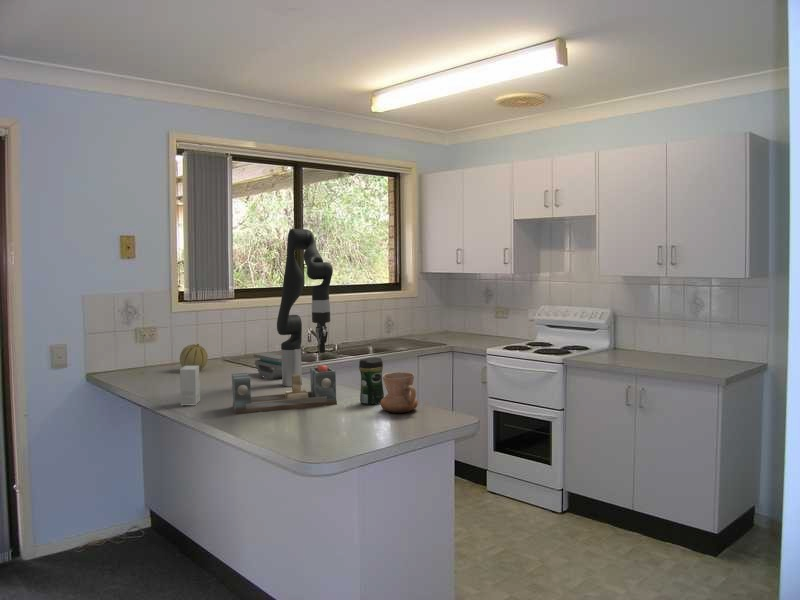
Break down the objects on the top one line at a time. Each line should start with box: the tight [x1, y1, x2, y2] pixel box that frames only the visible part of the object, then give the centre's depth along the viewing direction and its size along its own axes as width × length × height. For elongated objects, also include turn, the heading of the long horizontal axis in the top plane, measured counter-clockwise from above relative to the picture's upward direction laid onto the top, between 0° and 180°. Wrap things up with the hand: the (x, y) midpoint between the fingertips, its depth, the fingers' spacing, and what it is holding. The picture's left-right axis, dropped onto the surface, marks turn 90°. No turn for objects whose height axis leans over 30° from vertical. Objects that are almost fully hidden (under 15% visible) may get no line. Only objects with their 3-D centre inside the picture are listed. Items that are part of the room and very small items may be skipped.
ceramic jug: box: [379, 371, 419, 414], centre depth 245 cm, size 18×14×14 cm
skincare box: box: [179, 365, 201, 405], centre depth 265 cm, size 8×7×16 cm
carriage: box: [284, 374, 308, 400], centre depth 260 cm, size 8×8×10 cm
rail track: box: [231, 366, 338, 414], centre depth 259 cm, size 14×40×14 cm, turn 109°
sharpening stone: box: [253, 351, 282, 380], centre depth 325 cm, size 25×8×11 cm, turn 41°
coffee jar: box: [358, 357, 385, 405], centre depth 260 cm, size 10×8×19 cm
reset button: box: [317, 364, 328, 372], centre depth 264 cm, size 4×4×4 cm
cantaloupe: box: [179, 343, 209, 371], centre depth 346 cm, size 15×15×15 cm
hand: (322, 352), depth 263 cm, fingers closed
